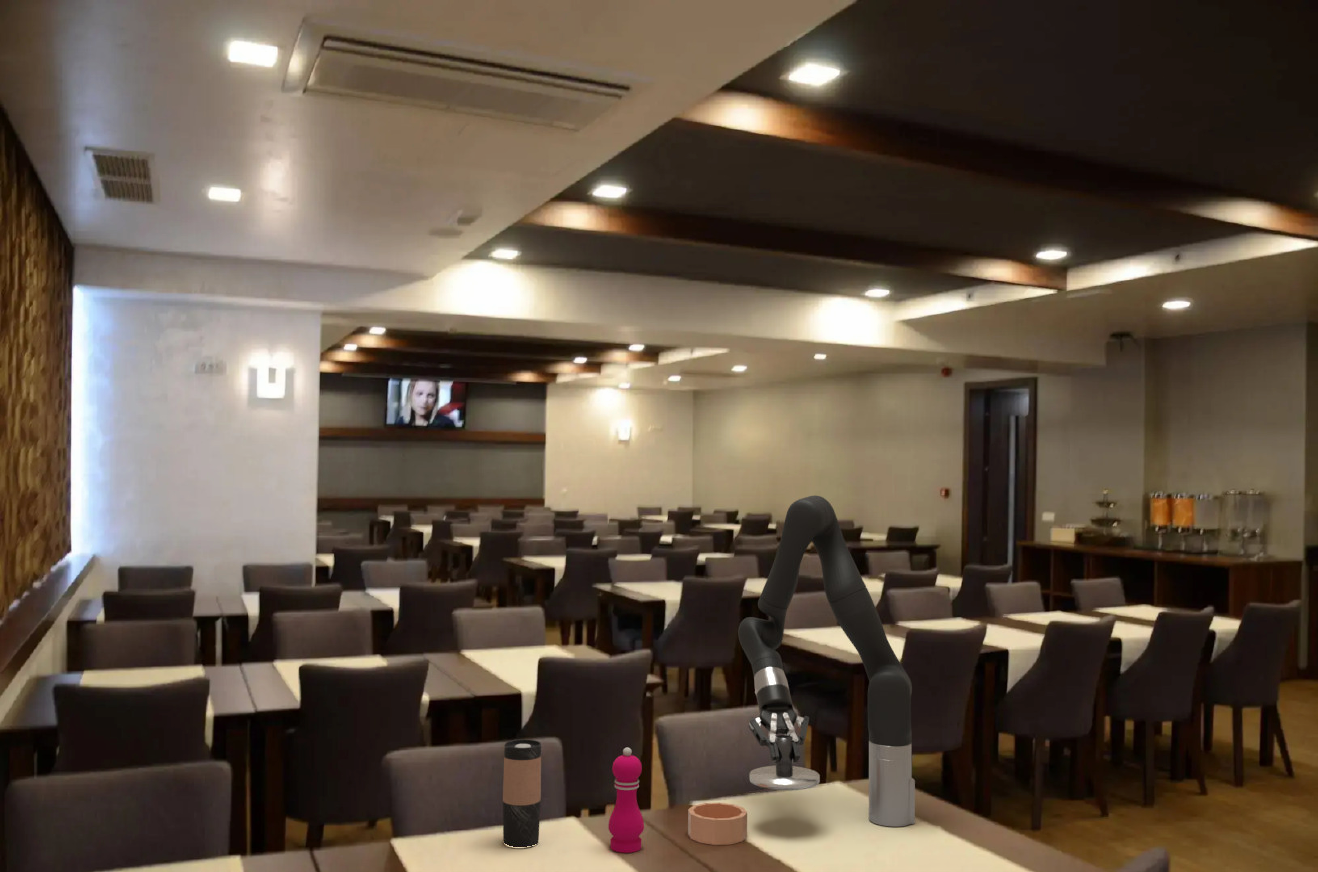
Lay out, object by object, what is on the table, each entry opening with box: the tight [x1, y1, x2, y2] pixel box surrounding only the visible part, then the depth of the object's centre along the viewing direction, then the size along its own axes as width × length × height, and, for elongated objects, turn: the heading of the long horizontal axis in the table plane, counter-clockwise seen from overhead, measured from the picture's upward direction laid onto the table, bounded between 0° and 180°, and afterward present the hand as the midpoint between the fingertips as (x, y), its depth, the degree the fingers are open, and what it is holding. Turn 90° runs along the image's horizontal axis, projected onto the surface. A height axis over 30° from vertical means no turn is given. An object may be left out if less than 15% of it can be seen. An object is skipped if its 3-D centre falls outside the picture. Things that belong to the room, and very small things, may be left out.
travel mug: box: [502, 739, 542, 847], centre depth 216 cm, size 8×8×20 cm
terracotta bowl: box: [687, 802, 748, 846], centre depth 222 cm, size 12×12×5 cm
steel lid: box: [749, 734, 821, 791], centre depth 228 cm, size 15×15×9 cm
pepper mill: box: [607, 747, 645, 854], centre depth 214 cm, size 7×7×20 cm
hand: (786, 760), depth 226 cm, fingers closed on steel lid, 3 cm apart
